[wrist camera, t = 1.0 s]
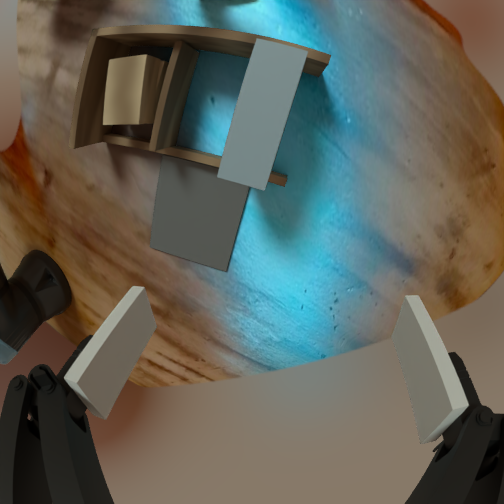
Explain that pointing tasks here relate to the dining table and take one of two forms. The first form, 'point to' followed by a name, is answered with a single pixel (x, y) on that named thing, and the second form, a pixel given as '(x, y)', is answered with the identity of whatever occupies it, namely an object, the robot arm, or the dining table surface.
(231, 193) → the mat
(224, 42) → the rack
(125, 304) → the robot arm
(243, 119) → the grey rectangular block
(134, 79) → the offcut upper
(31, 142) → the dining table surface
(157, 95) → the offcut lower
